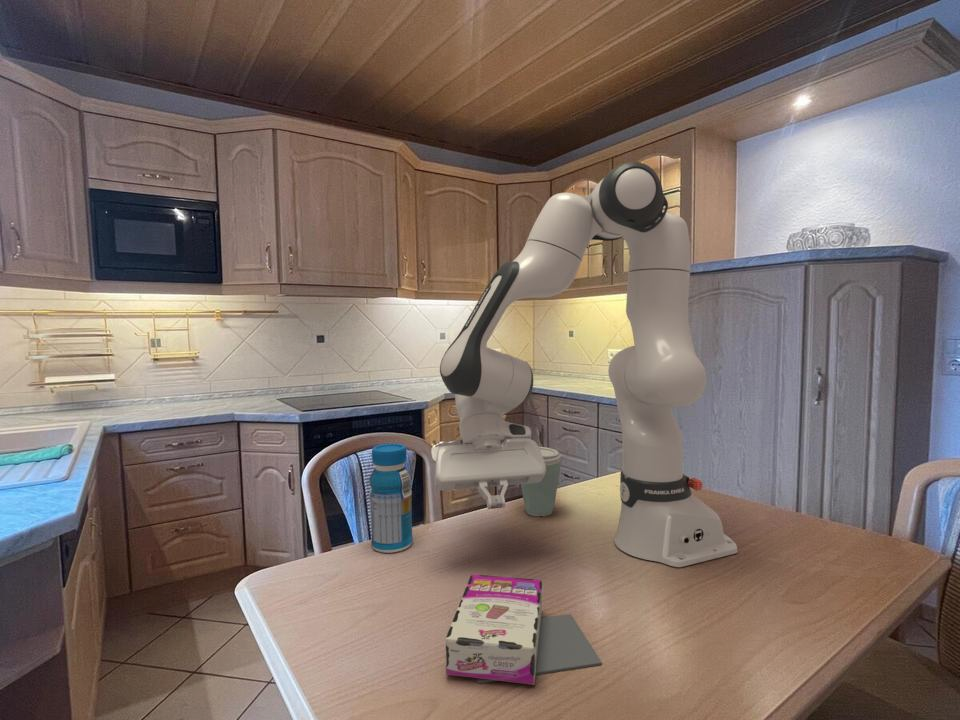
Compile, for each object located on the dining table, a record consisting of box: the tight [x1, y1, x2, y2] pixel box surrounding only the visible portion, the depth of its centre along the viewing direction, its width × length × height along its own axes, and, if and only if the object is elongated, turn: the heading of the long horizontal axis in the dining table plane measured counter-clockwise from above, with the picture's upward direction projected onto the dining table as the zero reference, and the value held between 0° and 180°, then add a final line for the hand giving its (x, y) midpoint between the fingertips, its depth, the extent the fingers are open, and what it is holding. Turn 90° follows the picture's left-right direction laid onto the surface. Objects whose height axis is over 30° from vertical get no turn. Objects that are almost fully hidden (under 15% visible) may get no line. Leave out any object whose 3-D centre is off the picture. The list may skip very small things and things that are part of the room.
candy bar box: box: [445, 573, 543, 686], centre depth 67 cm, size 11×5×16 cm
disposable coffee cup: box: [520, 446, 563, 518], centre depth 115 cm, size 11×11×15 cm
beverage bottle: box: [368, 443, 414, 554], centre depth 99 cm, size 8×8×20 cm
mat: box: [476, 613, 603, 684], centre depth 67 cm, size 16×11×1 cm
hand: (496, 507), depth 85 cm, fingers closed
